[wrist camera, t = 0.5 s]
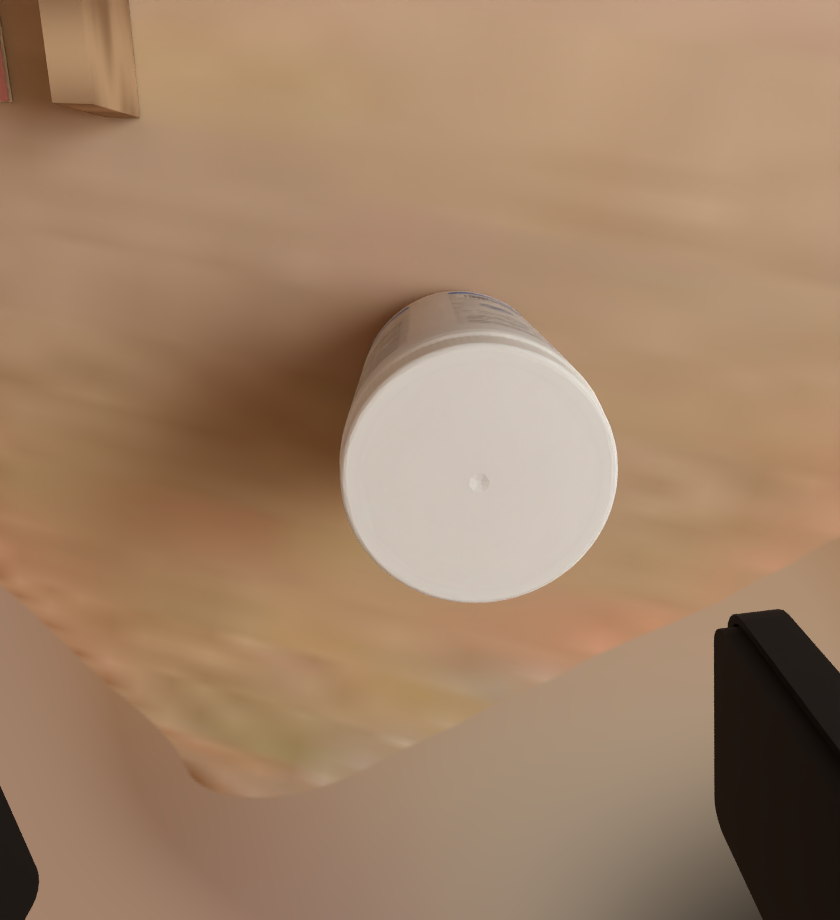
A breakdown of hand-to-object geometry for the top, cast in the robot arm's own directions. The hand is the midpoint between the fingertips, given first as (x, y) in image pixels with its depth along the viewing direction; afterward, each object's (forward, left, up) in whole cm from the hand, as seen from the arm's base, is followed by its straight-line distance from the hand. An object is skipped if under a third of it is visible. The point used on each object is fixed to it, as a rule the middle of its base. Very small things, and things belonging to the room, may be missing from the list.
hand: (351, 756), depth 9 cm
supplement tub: (+2, +3, -29) cm, 30 cm away
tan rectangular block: (-15, -13, -29) cm, 35 cm away
